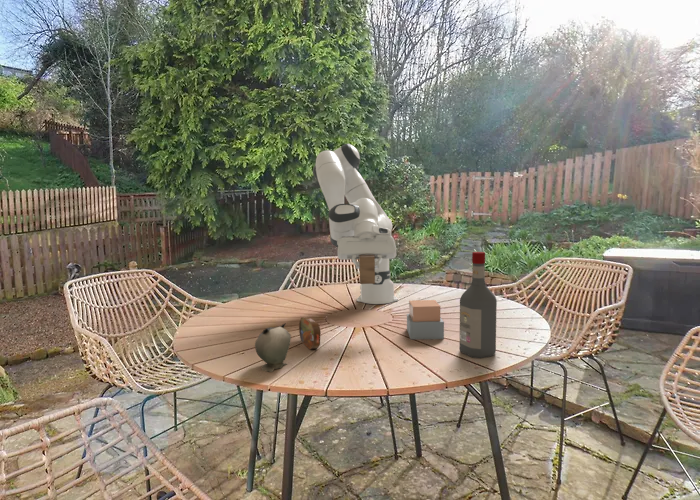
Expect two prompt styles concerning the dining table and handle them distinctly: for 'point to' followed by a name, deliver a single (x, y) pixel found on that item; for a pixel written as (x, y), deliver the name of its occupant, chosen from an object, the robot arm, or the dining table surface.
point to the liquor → (478, 314)
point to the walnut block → (367, 269)
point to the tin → (309, 332)
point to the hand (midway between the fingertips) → (367, 267)
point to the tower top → (424, 310)
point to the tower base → (425, 329)
